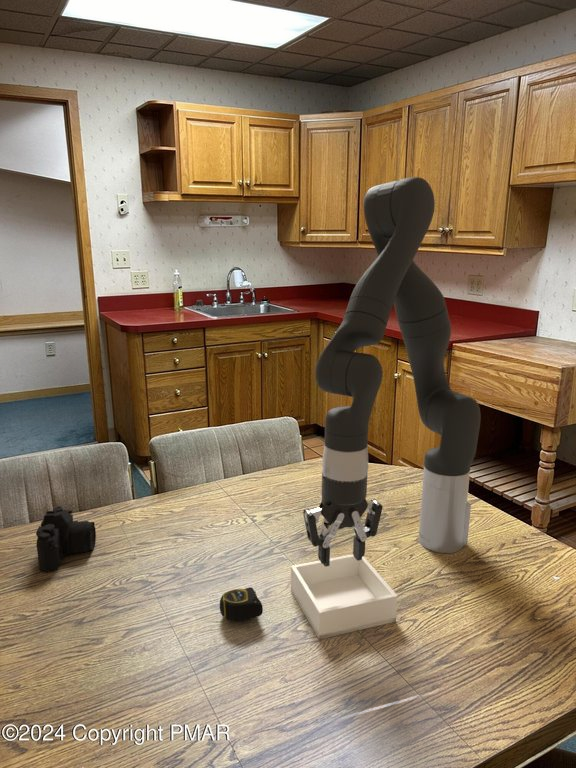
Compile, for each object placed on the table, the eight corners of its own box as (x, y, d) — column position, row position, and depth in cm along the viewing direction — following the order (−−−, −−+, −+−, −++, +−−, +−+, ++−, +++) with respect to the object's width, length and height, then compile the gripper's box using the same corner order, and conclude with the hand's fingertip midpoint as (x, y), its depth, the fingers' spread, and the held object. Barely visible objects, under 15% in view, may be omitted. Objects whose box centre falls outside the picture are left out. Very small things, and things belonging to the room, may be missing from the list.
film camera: (86, 572, 110) (82, 530, 108) (34, 576, 109) (28, 533, 106) (100, 533, 125) (97, 495, 122) (54, 535, 123) (50, 497, 121)
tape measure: (264, 622, 94) (263, 600, 94) (223, 629, 93) (221, 607, 93) (256, 604, 101) (255, 583, 101) (218, 611, 99) (216, 590, 99)
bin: (359, 576, 109) (360, 552, 108) (395, 621, 96) (397, 595, 95) (290, 589, 105) (290, 565, 103) (319, 639, 92) (319, 612, 91)
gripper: (373, 457, 100) (369, 543, 104) (296, 466, 95) (294, 556, 100) (394, 473, 93) (388, 565, 97) (312, 484, 88) (310, 580, 93)
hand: (341, 560), depth 98 cm, fingers open, 5 cm apart
